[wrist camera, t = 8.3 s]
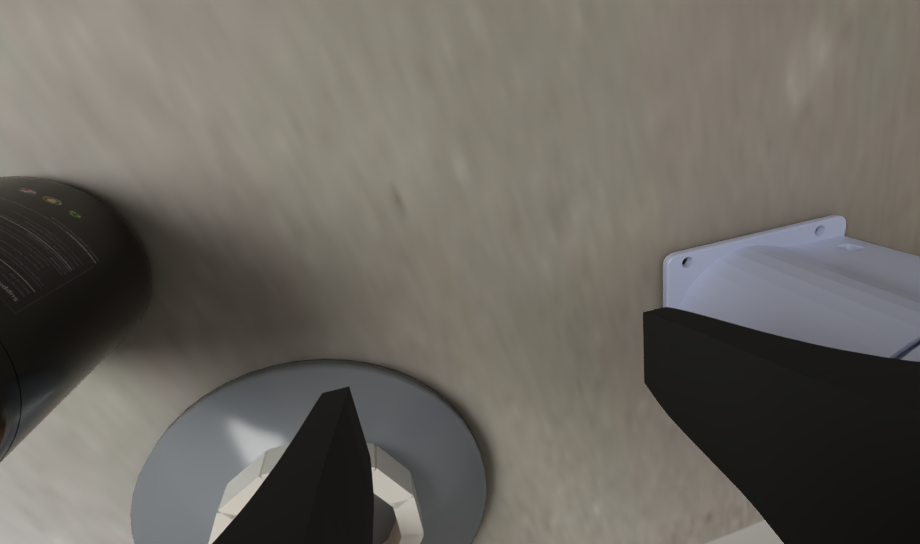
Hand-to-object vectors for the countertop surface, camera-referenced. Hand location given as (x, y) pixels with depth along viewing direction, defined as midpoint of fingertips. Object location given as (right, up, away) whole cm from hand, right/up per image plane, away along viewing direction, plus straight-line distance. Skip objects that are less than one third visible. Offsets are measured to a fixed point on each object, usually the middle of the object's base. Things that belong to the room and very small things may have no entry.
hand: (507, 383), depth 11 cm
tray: (-8, -9, +12) cm, 17 cm away
